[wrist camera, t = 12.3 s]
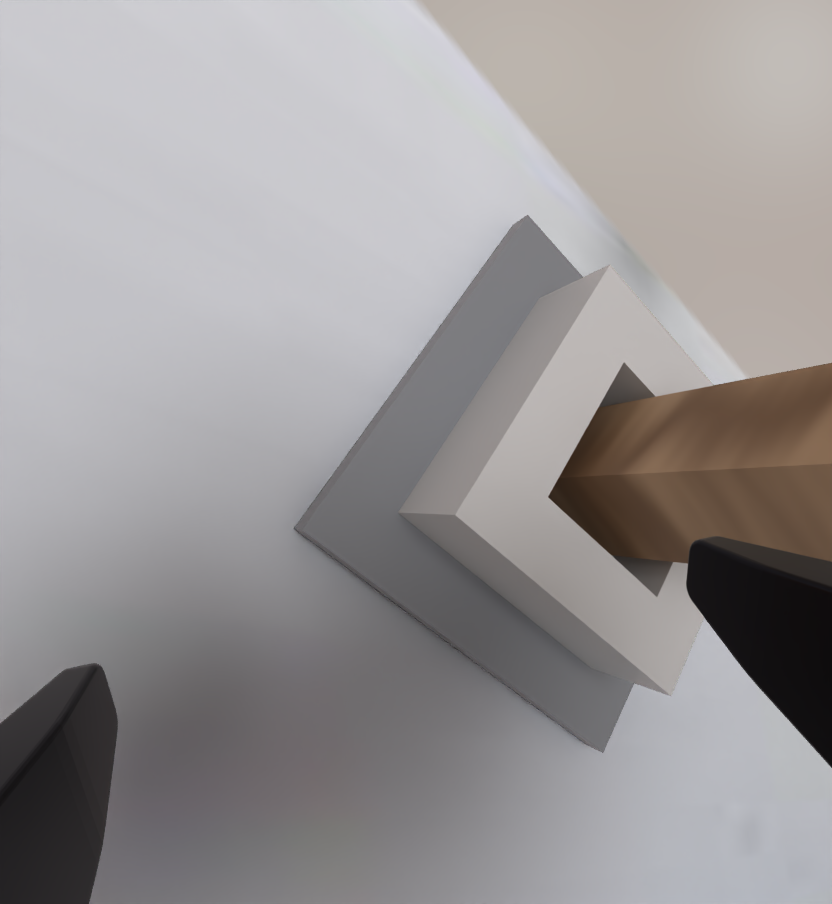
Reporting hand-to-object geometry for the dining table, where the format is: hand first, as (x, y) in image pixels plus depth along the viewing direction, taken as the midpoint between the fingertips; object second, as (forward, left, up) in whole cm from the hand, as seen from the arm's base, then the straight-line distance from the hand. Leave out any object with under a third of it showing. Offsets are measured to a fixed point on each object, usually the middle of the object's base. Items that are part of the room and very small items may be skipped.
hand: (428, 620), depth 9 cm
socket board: (+4, -12, -12) cm, 18 cm away
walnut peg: (+4, -12, -11) cm, 17 cm away
